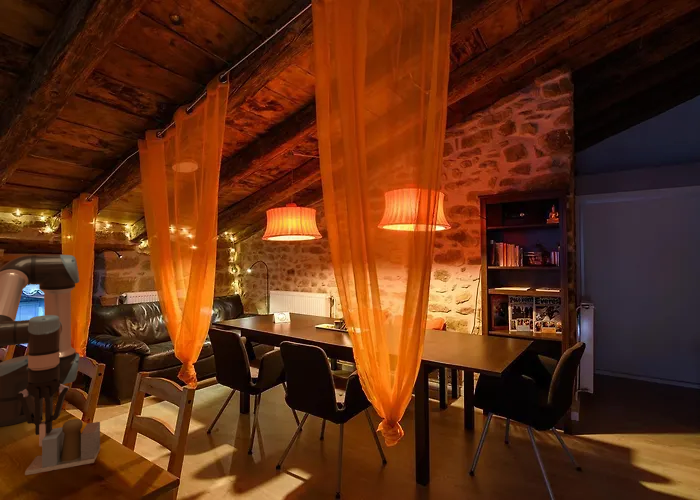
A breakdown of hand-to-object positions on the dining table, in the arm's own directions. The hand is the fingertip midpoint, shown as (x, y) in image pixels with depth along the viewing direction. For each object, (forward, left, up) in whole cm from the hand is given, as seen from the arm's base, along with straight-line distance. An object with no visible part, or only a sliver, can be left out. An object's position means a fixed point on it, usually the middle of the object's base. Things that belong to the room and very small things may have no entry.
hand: (43, 444), depth 116 cm
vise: (0, +5, -7) cm, 8 cm away
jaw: (0, +2, -5) cm, 6 cm away
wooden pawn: (0, +7, -6) cm, 9 cm away
